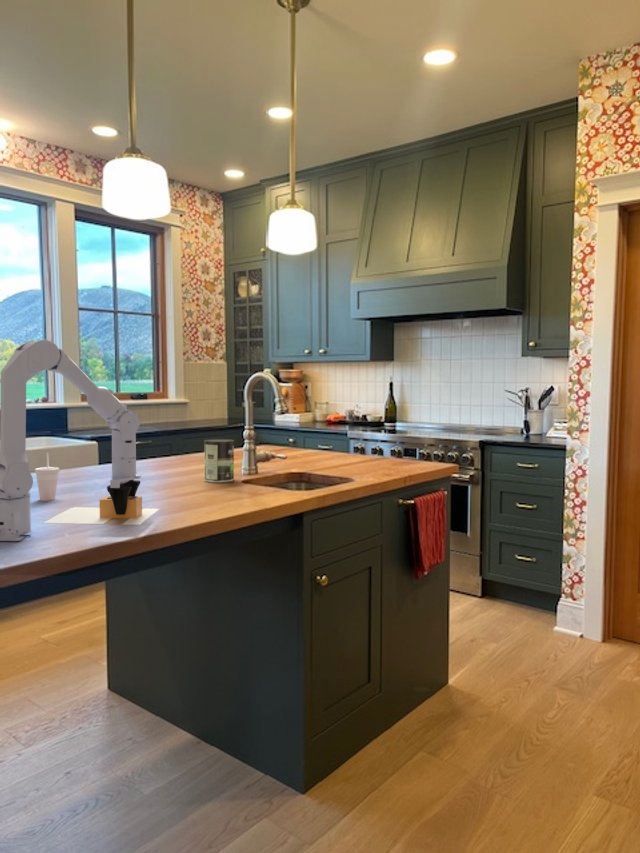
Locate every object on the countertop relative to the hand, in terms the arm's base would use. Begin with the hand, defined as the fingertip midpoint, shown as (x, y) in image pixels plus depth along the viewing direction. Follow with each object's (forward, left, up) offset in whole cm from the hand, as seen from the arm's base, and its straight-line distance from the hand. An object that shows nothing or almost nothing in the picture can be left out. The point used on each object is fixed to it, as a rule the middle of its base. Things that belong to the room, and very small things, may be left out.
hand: (124, 511), depth 157 cm
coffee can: (+62, -14, -2) cm, 63 cm away
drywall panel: (0, +5, -2) cm, 5 cm away
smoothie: (+19, +27, -2) cm, 33 cm away
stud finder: (0, +1, -1) cm, 1 cm away
